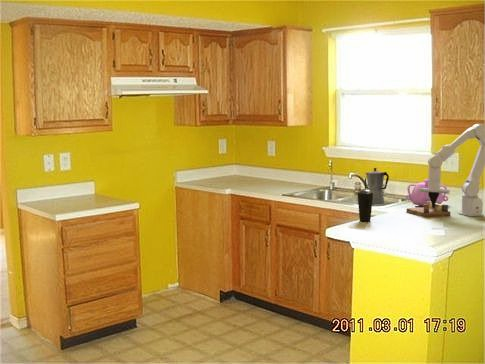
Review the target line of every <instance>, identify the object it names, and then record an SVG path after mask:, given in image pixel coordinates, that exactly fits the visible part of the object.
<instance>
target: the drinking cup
mask: <svg viewBox="0 0 485 364" xmlns="http://www.w3.org/2000/svg"><path fill="white" fill-rule="evenodd" d="M356 194H357V201H358V202H357V203H358V216H359V217H358V219H359V222H361V223H369V222H371V219H372V209H373V208H372V207H373V205H372V200H373V194H374V192H372V191H371V190H369V188H368V189H367V177H365V178H364V189H360V190H358V191H357V192H356Z"/></svg>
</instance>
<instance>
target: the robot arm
mask: <svg viewBox="0 0 485 364" xmlns="http://www.w3.org/2000/svg"><path fill="white" fill-rule="evenodd" d="M475 138H476V139H477V141H478V142H479V144H480V146H479V148H478V150H477V153H476V157H475V159H474V162H473V165H472V168H471V170H470V173H469V175H468V177H467V178H466V180H465V182H463V183H462V185H461V191H462V192H463V194H462V195H461V211H458V212H457V214H459V215H462V216H463V215H464V216H468V217H476V216H477V217H478V216H484V213H483V205H484V204H483V201H482V199H481V198H480V197H479V192H480V183H481V177H482V174H483V171H484V168H485V124H483V123H475V124H473V125H472V126H471V127H468V128H467V129H466V130H465V131H463V133H461V134H460V135H459V136H458V137H457V138H456V139H455V140H454V141H453V142H452V143H450V144H444V145H441V148H440V149H439V150H438V151H437V152H434V153H433V155H431V156H430V157H429V158H428V160H427V164H428V166H429V167H428V188H419V192H426V193H429V194H428V195H429V197H430V200H431V203H432V208H435V204H436V201H437V198H438V196H439V194H440V193H442V194H443V195H444V194H446V195H447V194H448V195H450V194H451V189H448V188H447V189H445V188H441V187H440V185H441V184H442V183H441V181H442V180H441V177H442V175H441V174H442V171H441V170H442V169H441V168H442V166H443V163H445V162H446V161H447V160H448V159H449V158H450V157H452V156H453V155H454V154H455V151H456V150H457V148H459V147H460V146H462V145H463V144H464V143H465V142H466V141H468V140H469V139H470V140H471V139H475ZM429 191H438V192H429Z"/></svg>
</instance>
